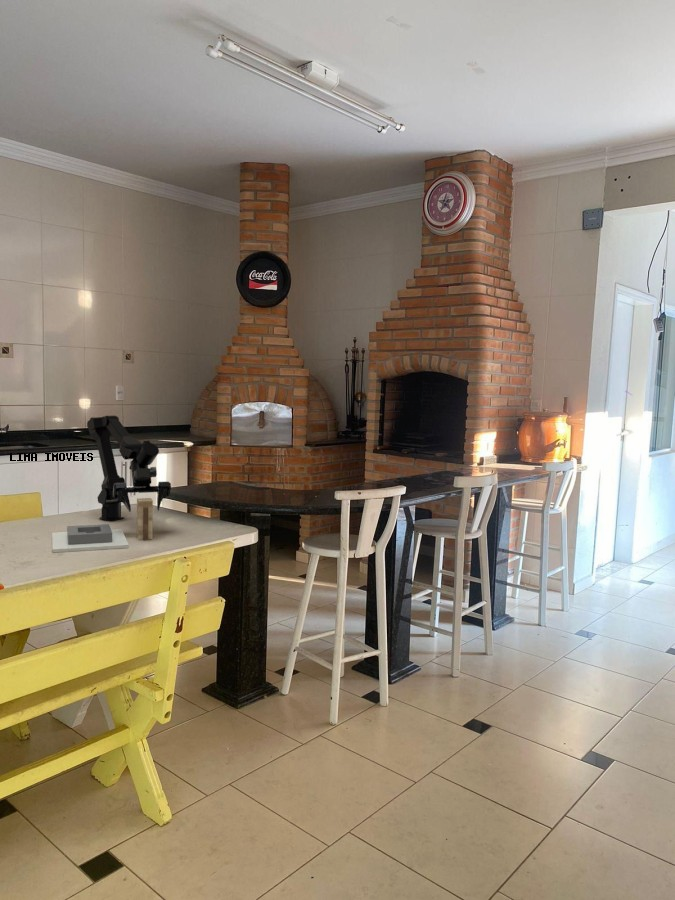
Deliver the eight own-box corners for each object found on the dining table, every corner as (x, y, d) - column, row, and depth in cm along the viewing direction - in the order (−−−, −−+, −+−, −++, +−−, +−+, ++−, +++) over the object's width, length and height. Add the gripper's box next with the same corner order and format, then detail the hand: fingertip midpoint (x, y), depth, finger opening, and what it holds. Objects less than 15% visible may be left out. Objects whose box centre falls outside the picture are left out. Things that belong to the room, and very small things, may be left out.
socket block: (52, 535, 225) (52, 523, 225) (121, 532, 234) (121, 520, 233) (52, 552, 205) (52, 539, 205) (128, 547, 214) (128, 535, 213)
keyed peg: (136, 536, 228) (136, 498, 227) (150, 535, 230) (150, 497, 229) (138, 540, 223) (138, 501, 222) (152, 539, 225) (153, 500, 224)
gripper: (113, 459, 227) (116, 497, 218) (170, 458, 234) (175, 495, 226) (111, 479, 235) (114, 516, 226) (166, 477, 242) (171, 514, 234)
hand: (144, 510), depth 228 cm, fingers open, 9 cm apart
